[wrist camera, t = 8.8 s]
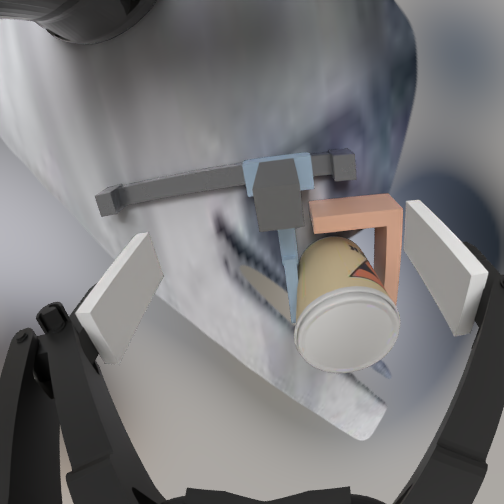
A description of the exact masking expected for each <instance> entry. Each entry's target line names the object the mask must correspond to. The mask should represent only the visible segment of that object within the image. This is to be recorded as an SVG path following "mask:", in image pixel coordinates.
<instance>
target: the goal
mask: <svg viewBox="0 0 504 504" xmlns="http://www.w3.org/2000/svg"><path fill="white" fill-rule="evenodd" d="M309 211H310V218H311V222H312V226H313V230H314V234H319V233H328V232H337V231H346V230H356V229H365V228H374V227H375V244H374V249H375V250H374V271H375V273H376V274H377V276H378V278H379V279H380V281H381V283H382V285H383V286H384V288H385V290H386V292H387V294H388V295H389V297H390V299H391V300H392V301H393V302H394V304H395V305H396V302H397V293H398V283H399V272H400V260H401V244H402V222H403V209H402V207H401V206H400V205H399V204H398V203H397V202H396V201H395V200H394V199H393V198H392V197H391V196H390V195H389V194H388V193H387V194H376V195H365V196H354V197H344V198H334V199H324V200H315V201H309Z"/></svg>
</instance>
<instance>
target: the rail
mask: <svg viewBox="0 0 504 504" xmlns="http://www.w3.org/2000/svg"><path fill="white" fill-rule="evenodd" d="M310 156H311V163H312V171H313V176H321V175H332V177H333V178H334V180H335V181H345V180H356V165H355V154H354V153H353V152H352V151H350V150H349V149H348V148H345V149H333V150H328V152H323V153H313V154H310ZM242 164H243V163H236V164H230V165H224V166H218V167H212V168H206V169H200V170H195V171H189V172H184V173H179V174H174V175H169V176H164V177H159V178H154V179H150V180H145V181H141V182H136V183H132V184H127V185H122V184H120V185H116V186H112V187H108V188H106V189H105V190H103V191H102V192H100V193H99V194H97V195H96V196H95V198H96V201H97V205H98V208H99V211H100V214H101V217H104V216H108V215H113V214H117V213H118V212H119V211H120V210H121V209H123V208H124V207H125V206H126V205H130V204H135V203H140V202H146V201H151V200H156V199H161V198H167V197H172V196H178V195H184V194H190V193H196V192H202V191H208V190H214V189H220V188H227V187H234V186H241V185H246V183H245V178H244V172H243V167H242Z"/></svg>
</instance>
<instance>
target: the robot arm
mask: <svg viewBox="0 0 504 504" xmlns="http://www.w3.org/2000/svg"><path fill="white" fill-rule="evenodd" d="M156 1H157V0H0V19H17V20H27V21H34V22H35V23H37V24H38V25H39V26H41V27H42V28H45V29H46V30H47V31H48V32H49V33H50V34H51V35H53V36H54V37H56V38H57V39H59V40H62V41H65V42H70V43H77V44H94V43H99V42H103V41H106V40H109V39H111V38H114V37H116V36H118V35H120V34H121V33H123V32H125V31H126V30H128V29H129V28H130V27H132V26H133V25H134V24H136V23H137V22H138V21H139V20H140V19H141V18H142V17H143V16H144V15H145V14H146V13H147V12H148V11H149V10H150V9H151V7H152V6H153V5H154V3H155V2H156ZM404 251H405V253H406V254H407V256H408V257H409V259H410V261H411V262H412V264H413V265H414V267H415V269H416V270H417V272H418V273H419V275H420V277H421V278H422V280H423V282H424V283H425V285H426V287H427V288H428V290H429V292H430V293H431V295H432V296H433V298H434V300H435V301H436V304H437V305H438V307H439V309H440V310H441V312H442V314H443V316H444V318H445V319H446V321H447V323H448V325H449V327H450V329H451V330H452V333H453V335H454V336H460V335H464V334H468V333H470V332H471V330H472V327H473V324H474V321H475V322H476V323H477V325H478V327H479V329H478V332H477V335H476V338H475V340H474V343H473V345H472V350H471V353H470V356H469V359H468V362H467V364H466V367H465V370H464V372H463V375H462V378H461V380H460V383H459V385H458V387H457V390H456V392H455V395H454V397H453V399H452V401H451V404H450V406H449V408H448V410H447V413H446V415H445V417H444V419H443V421H442V423H441V425H440V427H439V429H438V431H437V433H436V435H435V437H434V439H433V441H432V442H431V444H430V446H429V448H428V450H427V452H426V453H425V455H424V457H423V459H422V460H421V462H420V464H419V465H418V467H417V469H416V471H415V472H414V474H413V475H412V477H411V479H410V480H409V482H408V483H407V485H406V486H405V487H404V489H403V490H402V492H401V493H400V494H399V496H398V497H397V499H396V500H395V502H394V503H393V504H472V503H473V501H474V499H475V497H476V495H477V493H478V491H479V489H480V486H481V484H482V482H483V480H484V477H485V474H486V472H487V467H488V465H487V464H486V457H487V454H488V452H489V449H490V446H491V443H492V441H493V438H494V435H495V433H496V430H497V426H498V424H499V420H500V417H501V414H502V411H503V407H504V275H500V273H499V272H498V271H497V270H496V269H495V267H494V266H493V265H492V264H491V263H490V262H489V261H488V260H486V257H485V256H484V255H482V253H481V252H480V251H479V250H478V249H477V248H476V247H475V246H473V245H471V244H470V243H468V242H461V241H460V240H459V239H458V238H457V237H456V236H455V235H454V234H453V233H452V232H451V231H450V229H449V228H447V226H446V225H445V224H444V223H443V222H442V221H441V220H440V219H439V218H438V217H437V216H436V215H435V214H434V213H433V212H431V211H430V210H429V209H428V208H427V207H426V206H425V205H424V204H423V203H422V202H421V201H420V200H413V201H406V215H405V237H404ZM163 277H164V275H163V272H162V269H161V266H160V263H159V261H158V258H157V255H156V252H155V249H154V246H153V243H152V240H151V237H150V234H149V232H145V233H139V234H136V235H135V236H134V237H133V239H132V240H131V241H130V242H129V243H128V245H127V246H126V247H125V248H124V250H123V251H122V252H121V253H120V255H119V256H118V257H117V258H116V260H115V261H114V262H113V263H112V265H111V266H110V267H109V268H108V270H107V271H106V272H105V274H104V275H103V276H102V277H101V279H100V280H99V282H98V283H96V284H95V285H94V286H93V287H92V288H90V289H89V290H88V292H87V293H86V295H85V297H83V299H82V300H81V302H80V303H79V304H78V305H77V307H76V308H75V309H74V311H73V312H72V313H71V315H70V316H68V314H67V312H66V311H65V309H64V307H63V305H62V304H61V303H60V302H53V303H51V304H48V305H47V306H45V307H43V308H42V309H41V310H40V311H39V313H38V314H37V316H36V319H37V321H38V323H39V325H40V326H41V328H42V329H43V331H44V333H45V335H40V336H36V334H35V333H34V331H33V330H32V329H31V328H26V329H23V330H20V331H19V332H17V333H16V335H15V336H14V337H13V339H12V341H11V344H10V347H9V350H8V353H7V356H6V359H5V363H4V367H3V370H2V373H1V377H0V504H62V494H61V481H60V480H61V479H60V455H59V454H60V451H59V434H60V431H59V430H60V425H61V430H62V434H63V438H64V442H65V445H66V449H67V453H68V456H69V460H70V463H71V466H72V471H71V472H69V473H67V474H66V482H67V485H68V488H69V491H70V495H71V497H72V500H73V503H74V504H385V503H384V502H381V501H379V500H377V499H374V498H371V497H368V496H362V495H356V494H351V493H350V487H342V488H334V489H324V490H312V491H307V492H303V493H299V494H296V495H292V496H288V497H284V498H280V499H276V500H272V501H265V502H264V501H259V500H255V499H251V498H247V497H243V496H239V495H236V494H232V493H228V492H225V491H214V490H202V489H193V488H187V490H186V495H185V496H181V497H177V498H173V499H170V500H167V501H166V499H165V498H164V497H163V496H162V495H161V494H160V492H159V491H158V490H157V489H156V487H155V486H154V484H153V482H152V480H151V479H150V477H149V475H148V473H147V471H146V470H145V468H144V466H143V464H142V462H141V460H140V458H139V456H138V454H137V453H136V451H135V449H134V447H133V445H132V443H131V441H130V438H129V436H128V434H127V432H126V430H125V428H124V426H123V424H122V421H121V419H120V417H119V415H118V412H117V410H116V408H115V405H114V403H113V401H112V398H111V396H110V394H109V391H108V388H107V386H106V383H105V381H104V378H103V375H102V373H101V370H100V367H99V365H98V364H97V362H96V361H95V360H96V358H97V356H98V354H99V355H100V357H101V358H102V360H103V361H104V363H105V364H118V365H119V364H120V363H121V360H122V358H123V356H124V354H125V352H126V350H127V348H128V346H129V343H130V341H131V339H132V337H133V335H134V333H135V331H136V329H137V327H138V325H139V323H140V321H141V319H142V317H143V315H144V313H145V311H146V309H147V307H148V305H149V304H150V302H151V300H152V298H153V296H154V294H155V292H156V290H157V288H158V286H159V284H160V282H161V281H162V279H163ZM34 377H35V379H34Z"/></svg>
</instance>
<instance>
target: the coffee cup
mask: <svg viewBox="0 0 504 504" xmlns="http://www.w3.org/2000/svg"><path fill="white" fill-rule="evenodd" d="M399 329H400V315H399V312H398V309H397V307H396V305H395V304H394V302H393V301H392V300H391V299H390V297H389V295H388V294H387V292H386V290H385V288H384V286H383V285H382V283H381V281H380V279H379V278H378V276H377V274H376V273H375V271H374V270H373V268H372V266H371V265H370V263H369V261H368V260H367V258H366V257H365V255H364V254H363V252H362V251H361V249H360V248H359V247H358V246H357V245H356V244H355V243H354V242H353V241H351V240H349V239H347V238H344V237H338V236H330V237H325V238H322V239H319V240H317V241H315V242H314V243H312V244H311V245H310V246H309V247H308V248H307V249H306V250H305V251H304V253H303V254H302V256H301V258H300V262H299V267H298V287H297V307H296V325H295V330H294V341H295V345H296V348H297V350H298V352H299V353H300V355H301V356H302V357H303V358H304V360H305V361H306V362H307V363H309V364H310V365H311V366H313V367H315V368H317V369H319V370H321V371H325V372H330V373H349V372H354V371H358V370H361V369H364V368H367V367H369V366H371V365H373V364H375V363H376V362H378V361H379V360H381V359H382V358H383V357H384V356H385V355H386V354H387V353H388V352H389V351H390V350H391V349H392V347H393V346H394V344H395V342H396V340H397V338H398V333H399Z"/></svg>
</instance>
